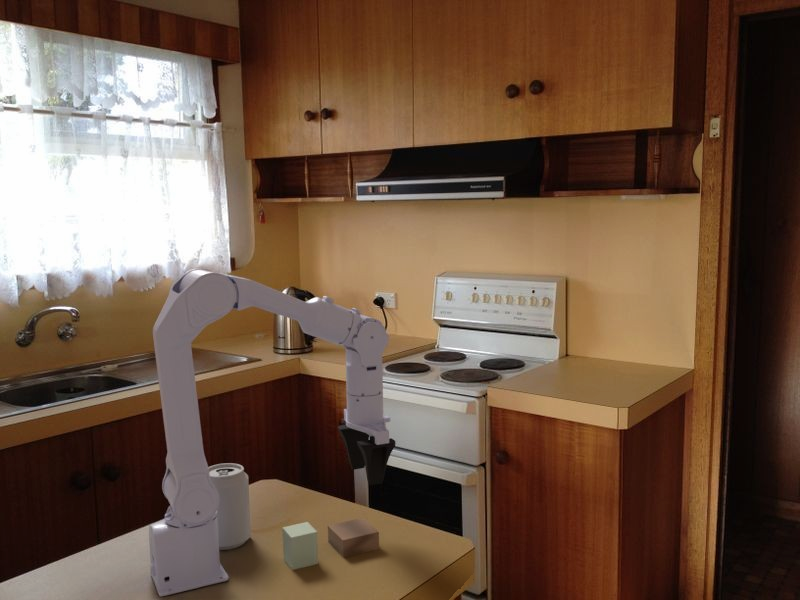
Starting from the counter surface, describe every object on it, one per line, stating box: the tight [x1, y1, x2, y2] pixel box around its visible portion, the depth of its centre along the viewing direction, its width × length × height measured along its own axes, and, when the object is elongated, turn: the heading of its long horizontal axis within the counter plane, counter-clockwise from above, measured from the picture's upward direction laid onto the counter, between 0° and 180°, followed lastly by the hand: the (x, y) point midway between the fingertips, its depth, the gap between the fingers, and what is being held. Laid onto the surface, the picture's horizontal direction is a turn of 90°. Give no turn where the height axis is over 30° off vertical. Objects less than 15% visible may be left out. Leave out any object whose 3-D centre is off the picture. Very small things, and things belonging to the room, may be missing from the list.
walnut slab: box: [327, 517, 380, 558], centre depth 116 cm, size 6×6×3 cm
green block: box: [281, 521, 319, 571], centre depth 111 cm, size 4×4×5 cm
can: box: [208, 462, 252, 551], centre depth 118 cm, size 8×8×12 cm
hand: (366, 475), depth 118 cm, fingers open, 7 cm apart
